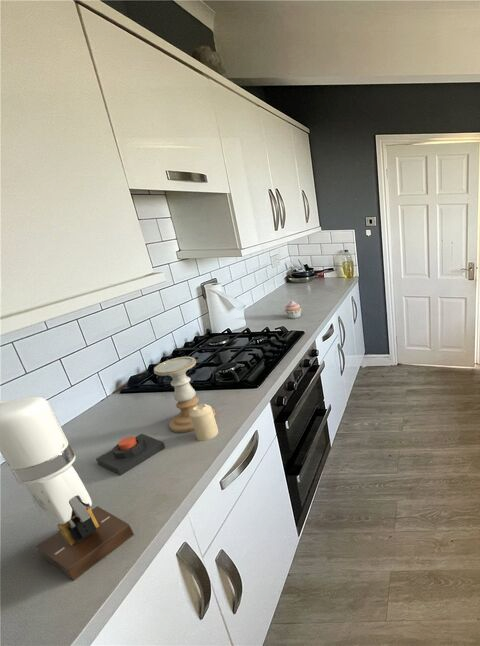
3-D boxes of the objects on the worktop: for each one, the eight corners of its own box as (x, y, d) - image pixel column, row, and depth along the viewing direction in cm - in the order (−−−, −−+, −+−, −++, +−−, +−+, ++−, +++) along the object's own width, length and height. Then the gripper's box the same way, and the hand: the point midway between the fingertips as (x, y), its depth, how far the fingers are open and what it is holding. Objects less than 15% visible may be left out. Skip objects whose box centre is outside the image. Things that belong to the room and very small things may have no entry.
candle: (209, 427, 106) (200, 399, 103) (222, 430, 105) (214, 402, 101) (192, 438, 102) (183, 410, 98) (206, 442, 100) (197, 413, 96)
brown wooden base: (73, 580, 65) (66, 569, 64) (42, 556, 69) (35, 545, 68) (134, 534, 73) (129, 523, 72) (102, 515, 78) (97, 505, 77)
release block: (120, 476, 89) (115, 463, 87) (98, 465, 93) (93, 453, 91) (165, 448, 98) (161, 436, 97) (144, 439, 102) (139, 428, 100)
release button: (124, 451, 92) (122, 446, 91) (117, 448, 93) (114, 443, 93) (140, 443, 95) (137, 438, 94) (132, 440, 96) (130, 434, 96)
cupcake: (286, 315, 202) (283, 299, 199) (303, 313, 205) (300, 297, 202) (285, 321, 194) (282, 304, 191) (302, 318, 197) (300, 302, 193)
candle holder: (182, 411, 115) (163, 357, 107) (222, 407, 116) (206, 353, 109) (161, 435, 103) (139, 376, 96) (206, 430, 105) (187, 371, 98)
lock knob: (71, 546, 68) (60, 526, 66) (67, 543, 68) (56, 524, 67) (99, 526, 72) (89, 507, 70) (95, 523, 72) (85, 505, 70)
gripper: (-5, 464, 63) (38, 536, 70) (37, 490, 57) (80, 566, 64) (50, 438, 70) (85, 506, 76) (93, 459, 64) (127, 531, 70)
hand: (82, 533), depth 70 cm, fingers closed
